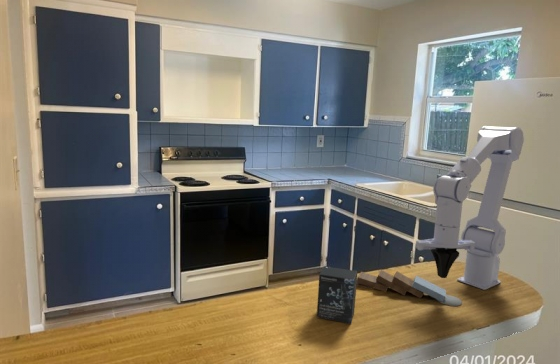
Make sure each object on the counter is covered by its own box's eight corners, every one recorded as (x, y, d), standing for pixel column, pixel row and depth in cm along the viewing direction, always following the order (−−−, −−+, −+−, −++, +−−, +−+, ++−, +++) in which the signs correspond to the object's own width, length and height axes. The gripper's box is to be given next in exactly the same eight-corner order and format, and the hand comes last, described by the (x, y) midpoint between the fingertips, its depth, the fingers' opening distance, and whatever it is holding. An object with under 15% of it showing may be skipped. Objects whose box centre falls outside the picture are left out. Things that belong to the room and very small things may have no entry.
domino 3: (408, 284, 107) (381, 269, 110) (407, 290, 103) (378, 275, 106) (406, 289, 108) (378, 274, 110) (404, 295, 104) (375, 280, 106)
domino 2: (390, 280, 109) (361, 271, 112) (387, 286, 105) (357, 277, 108) (388, 285, 110) (360, 276, 113) (386, 292, 106) (356, 282, 109)
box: (316, 318, 90) (318, 273, 89) (321, 307, 96) (323, 265, 94) (351, 325, 88) (354, 279, 86) (354, 313, 93) (357, 270, 92)
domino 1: (376, 281, 111) (347, 276, 114) (373, 287, 107) (343, 281, 110) (375, 287, 111) (347, 281, 114) (372, 293, 107) (343, 287, 110)
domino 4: (424, 287, 106) (396, 271, 108) (423, 293, 102) (394, 276, 104) (421, 292, 106) (394, 275, 109) (420, 298, 102) (391, 281, 105)
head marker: (461, 298, 103) (461, 297, 103) (462, 308, 98) (462, 307, 98) (436, 293, 106) (436, 292, 106) (435, 302, 100) (435, 302, 100)
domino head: (445, 290, 104) (416, 275, 106) (445, 296, 100) (414, 281, 102) (443, 295, 104) (413, 280, 107) (442, 302, 100) (411, 286, 103)
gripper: (465, 220, 104) (460, 270, 106) (412, 220, 102) (407, 270, 105) (482, 227, 97) (475, 280, 100) (425, 227, 96) (420, 281, 98)
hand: (442, 276), depth 102 cm, fingers closed
